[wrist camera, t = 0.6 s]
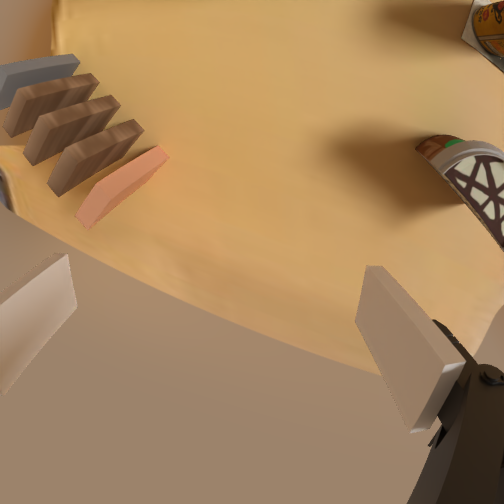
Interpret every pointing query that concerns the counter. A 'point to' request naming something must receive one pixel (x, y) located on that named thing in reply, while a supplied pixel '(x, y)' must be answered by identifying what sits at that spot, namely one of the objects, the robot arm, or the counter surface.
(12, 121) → the domino
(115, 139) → the domino
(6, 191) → the counter surface
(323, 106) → the counter surface
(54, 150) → the domino
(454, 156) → the food container
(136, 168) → the domino
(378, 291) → the robot arm
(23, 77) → the domino
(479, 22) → the condiment
